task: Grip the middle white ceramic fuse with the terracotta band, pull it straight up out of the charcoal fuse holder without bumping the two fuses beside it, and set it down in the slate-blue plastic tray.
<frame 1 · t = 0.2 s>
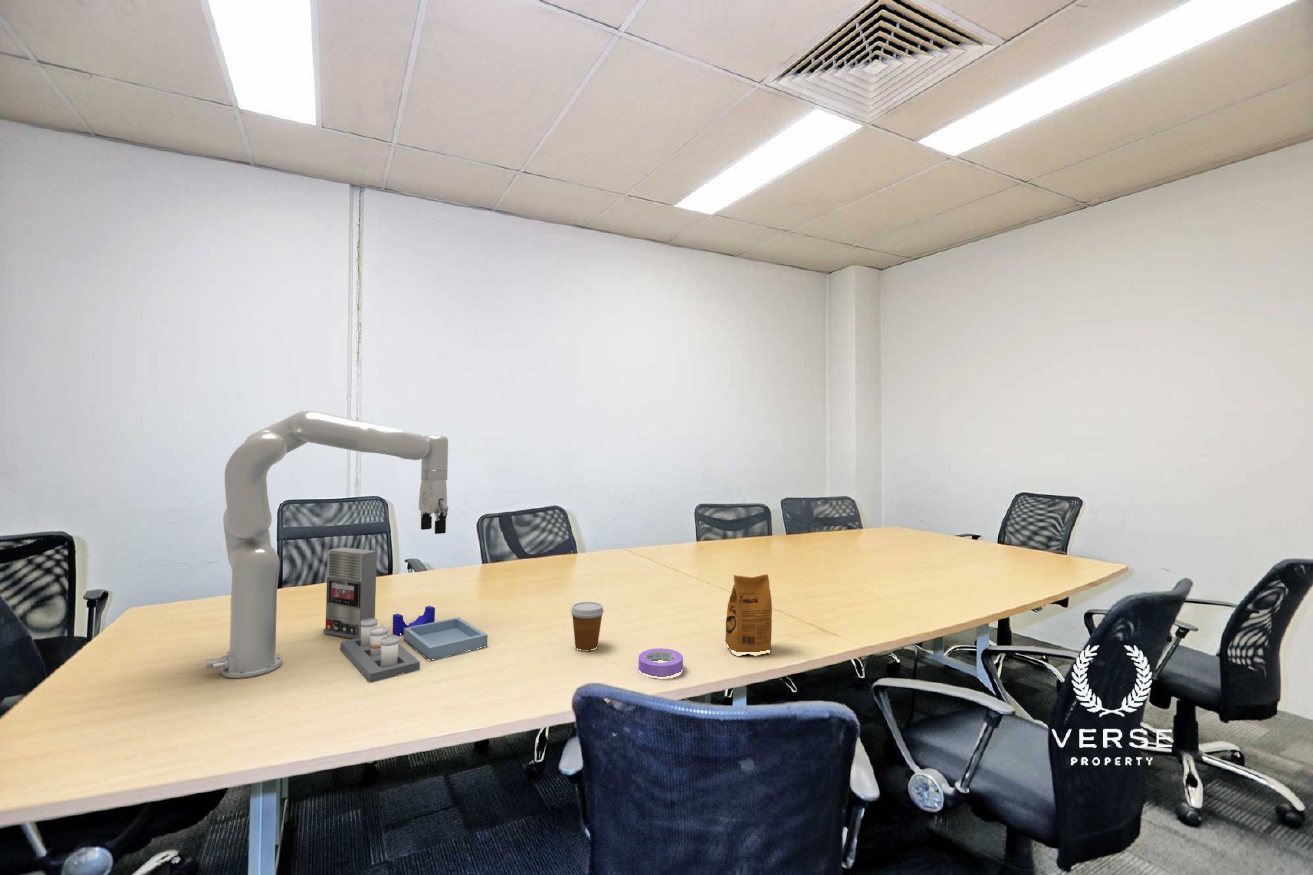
hand: (433, 531, 172), 31 cm above the table, tool pointing down, fingers open, 9 cm apart
fuse 2: (389, 669, 143), resting in fuse holder
cassette tape recorder: (348, 635, 168), on the table
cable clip: (412, 630, 173), on the table
masking tape: (660, 671, 147), on the table
coffee package: (747, 651, 163), on the table
marked fuse: (378, 644, 150), in the fuse holder
fuse 1: (368, 649, 157), resting in fuse holder
tray: (444, 643, 162), on the table
fuse holder: (378, 658, 150), on the table
disposable coffee cup: (586, 648, 162), on the table
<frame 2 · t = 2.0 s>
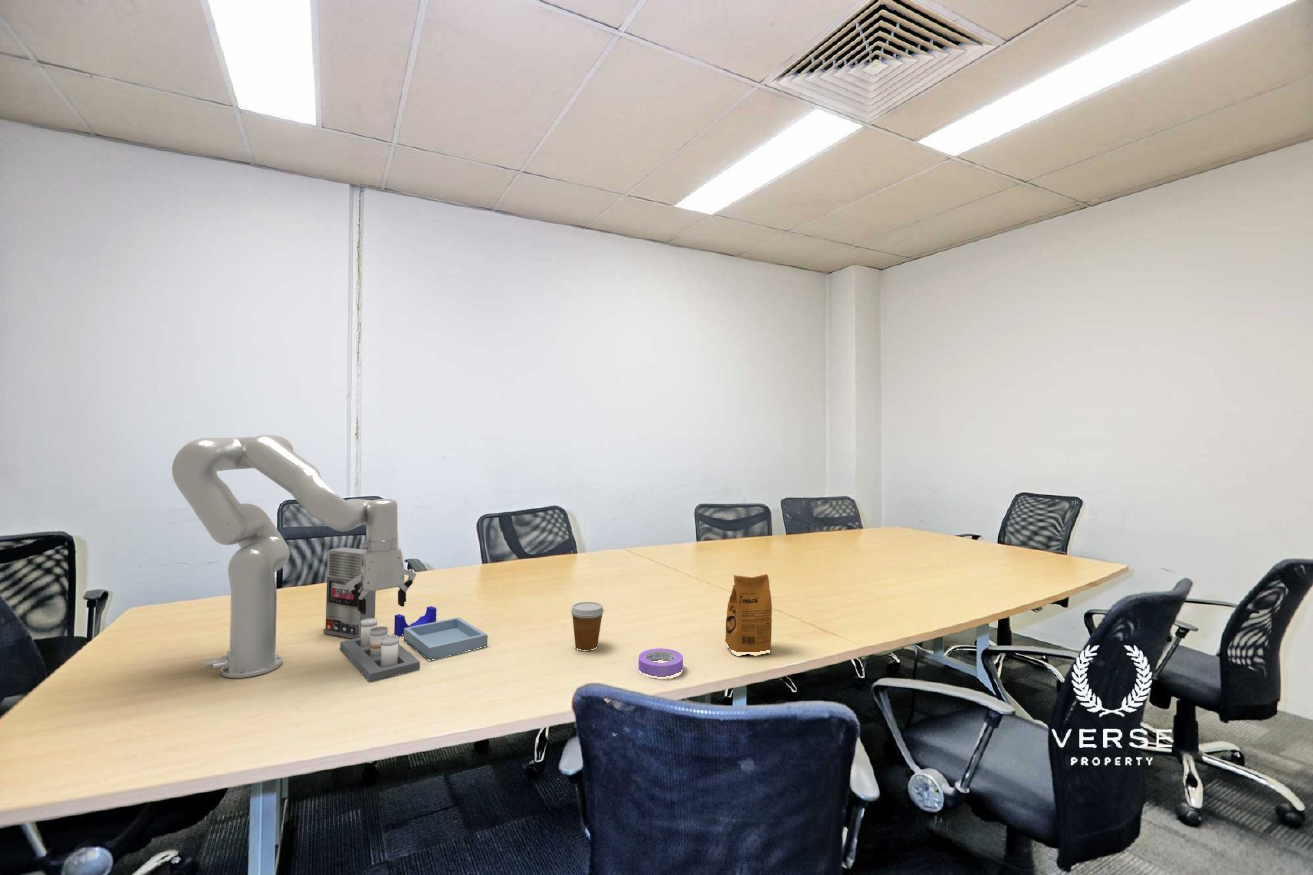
hand: (382, 609, 150), 13 cm above the table, tool pointing down, fingers open, 9 cm apart
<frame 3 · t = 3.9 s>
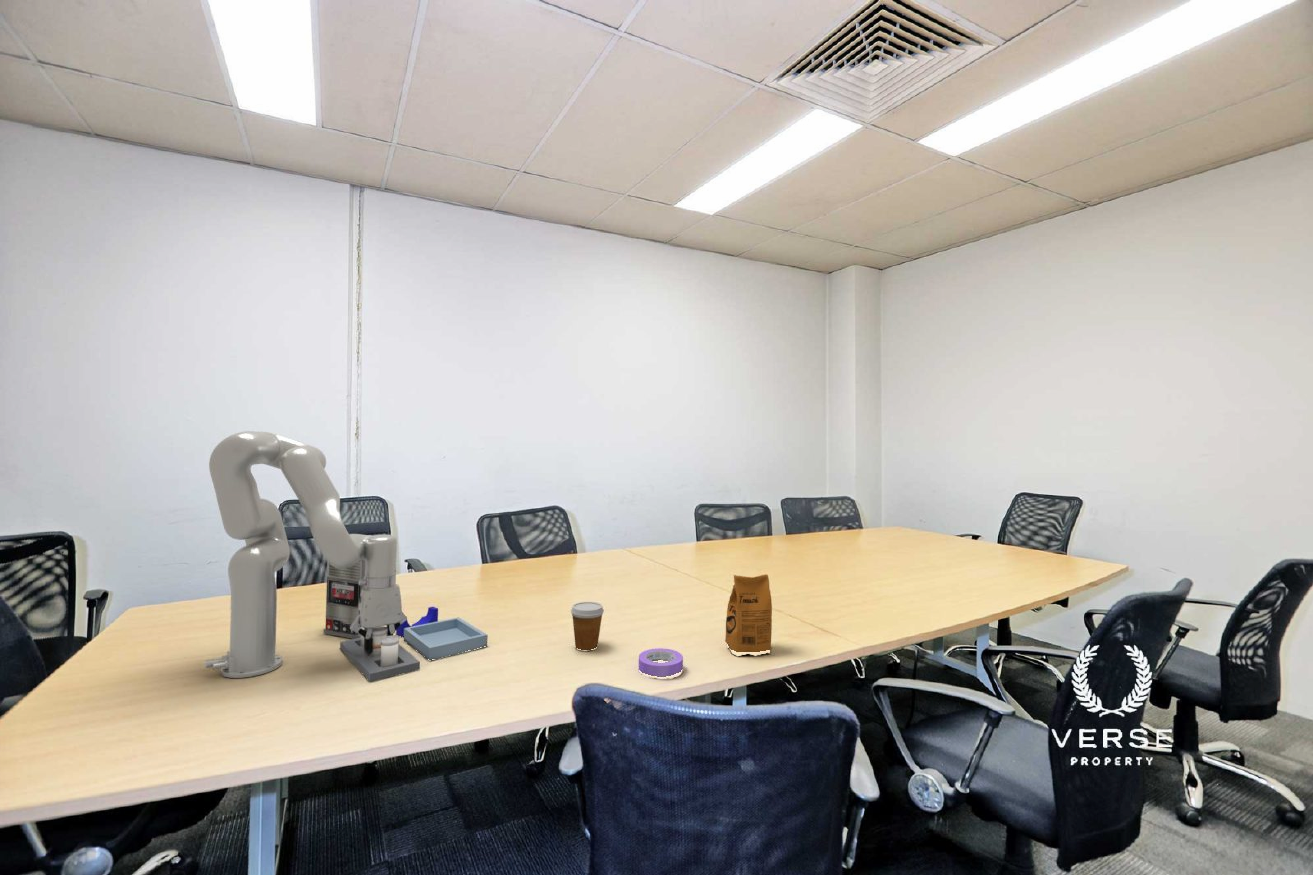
hand: (378, 649, 150), 3 cm above the table, tool pointing down, fingers closed on marked fuse, 4 cm apart
marked fuse: (378, 643, 150), in the fuse holder, touching gripper
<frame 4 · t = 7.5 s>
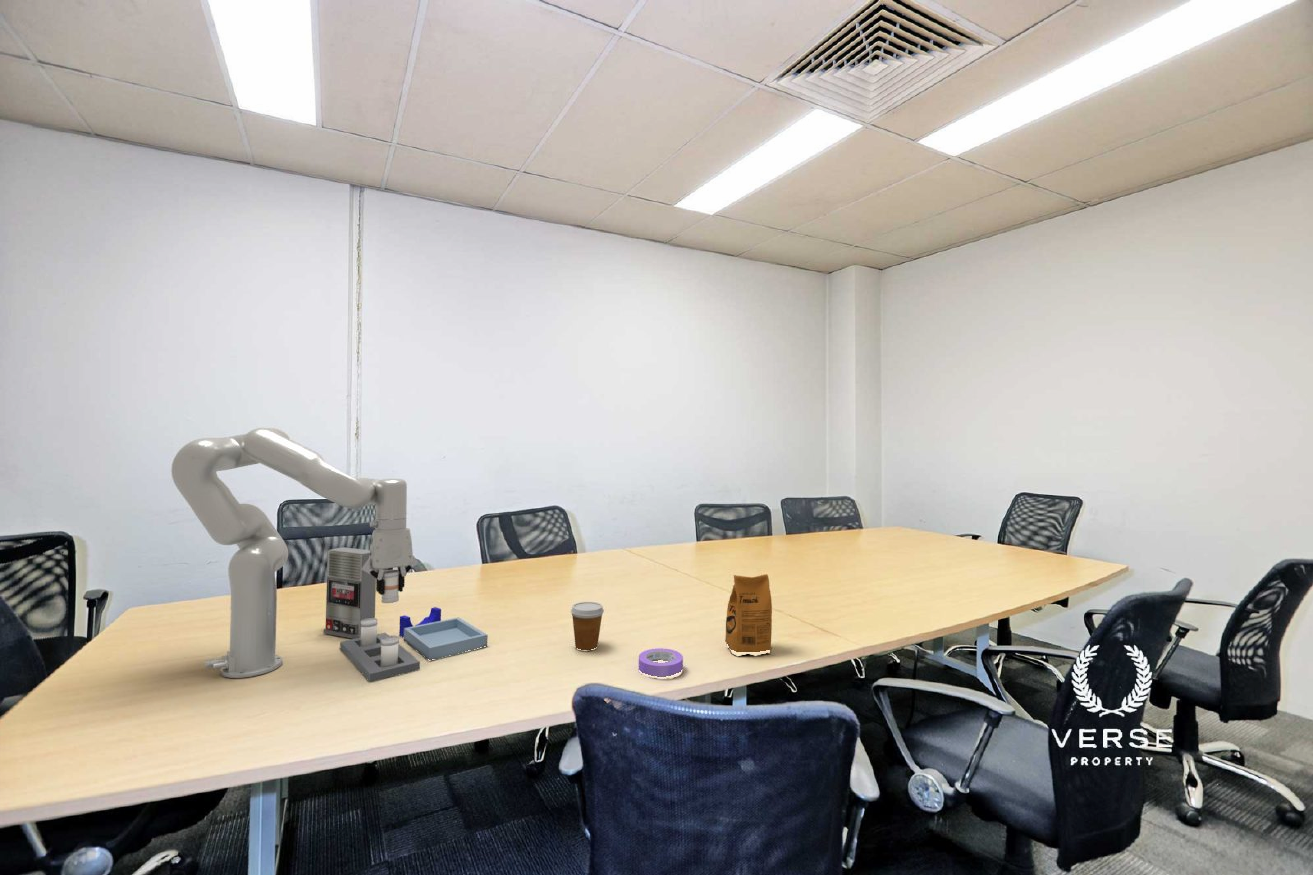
hand: (390, 591, 152), 18 cm above the table, tool pointing down, fingers closed on marked fuse, 4 cm apart
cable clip: (419, 632, 172), on the table
marked fuse: (390, 586, 152), point 19 cm above the table, touching gripper
everything else where it was.
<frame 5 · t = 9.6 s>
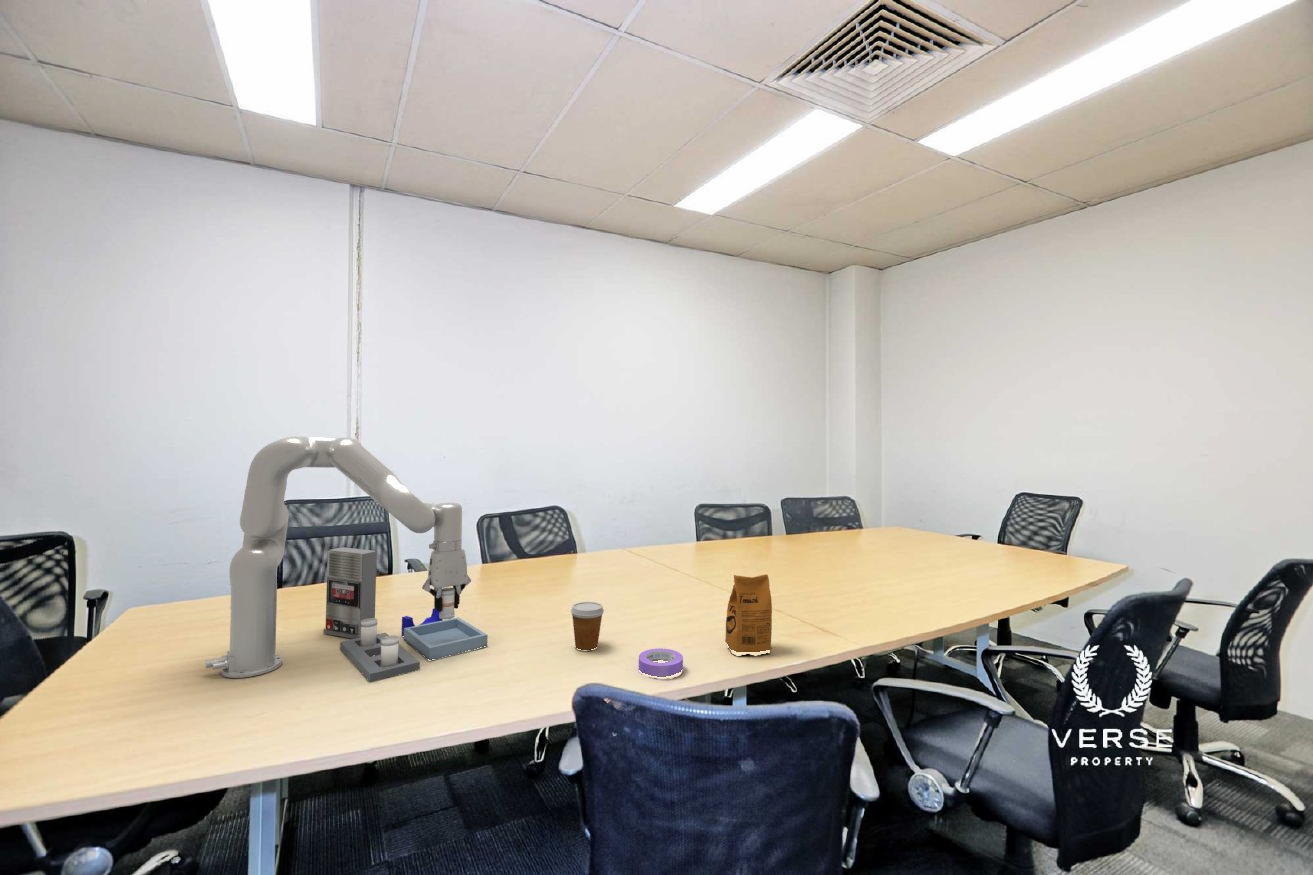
hand: (446, 608, 162), 10 cm above the table, tool pointing down, fingers closed on marked fuse, 4 cm apart
marked fuse: (447, 603, 162), point 12 cm above the table, touching gripper
when the fingers open (5 cm above the table, at t = 11.1 s): marked fuse drops 1 cm, resting on tray.
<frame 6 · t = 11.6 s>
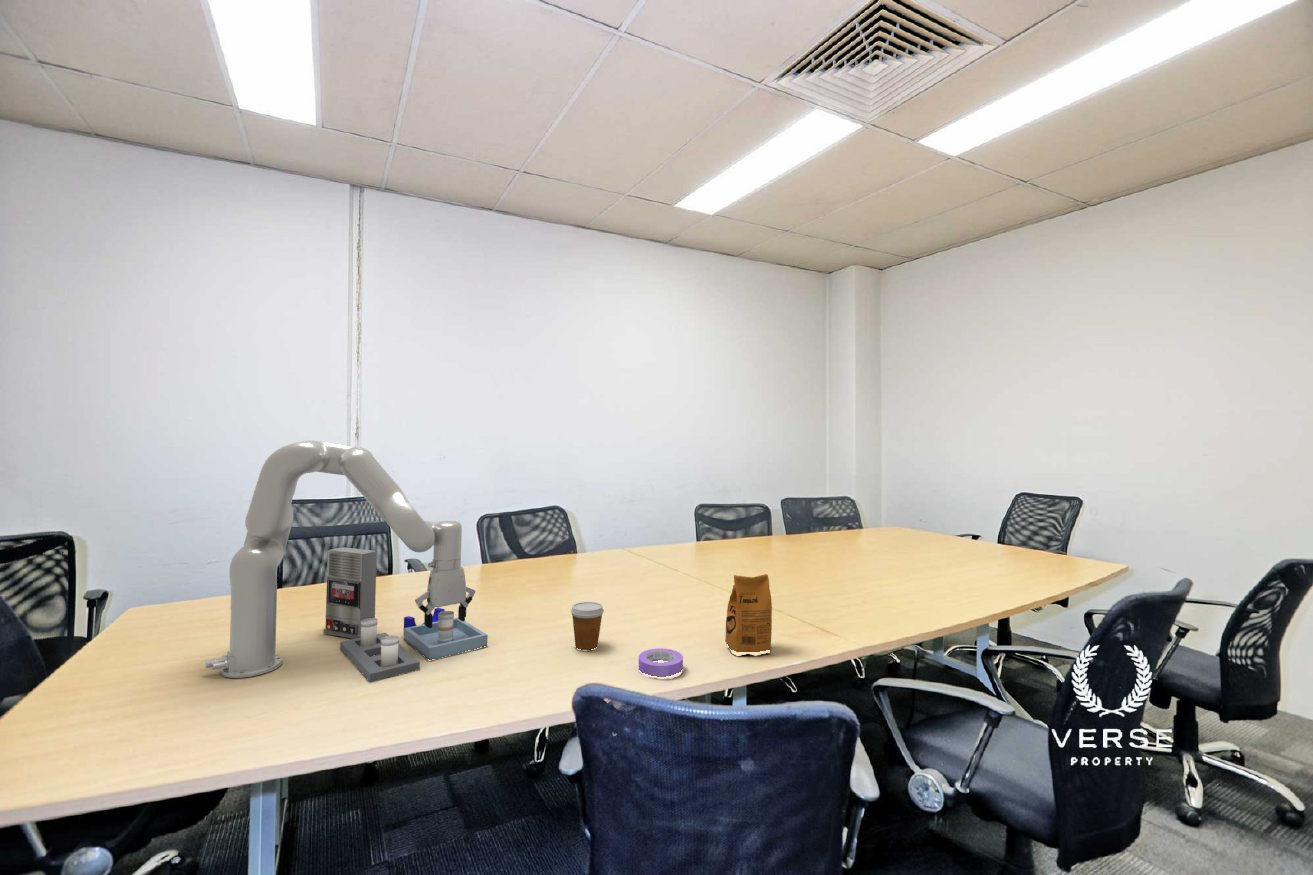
hand: (445, 623, 162), 6 cm above the table, tool pointing down, fingers open, 9 cm apart
marked fuse: (445, 626, 162), in the tray, point 5 cm above the table
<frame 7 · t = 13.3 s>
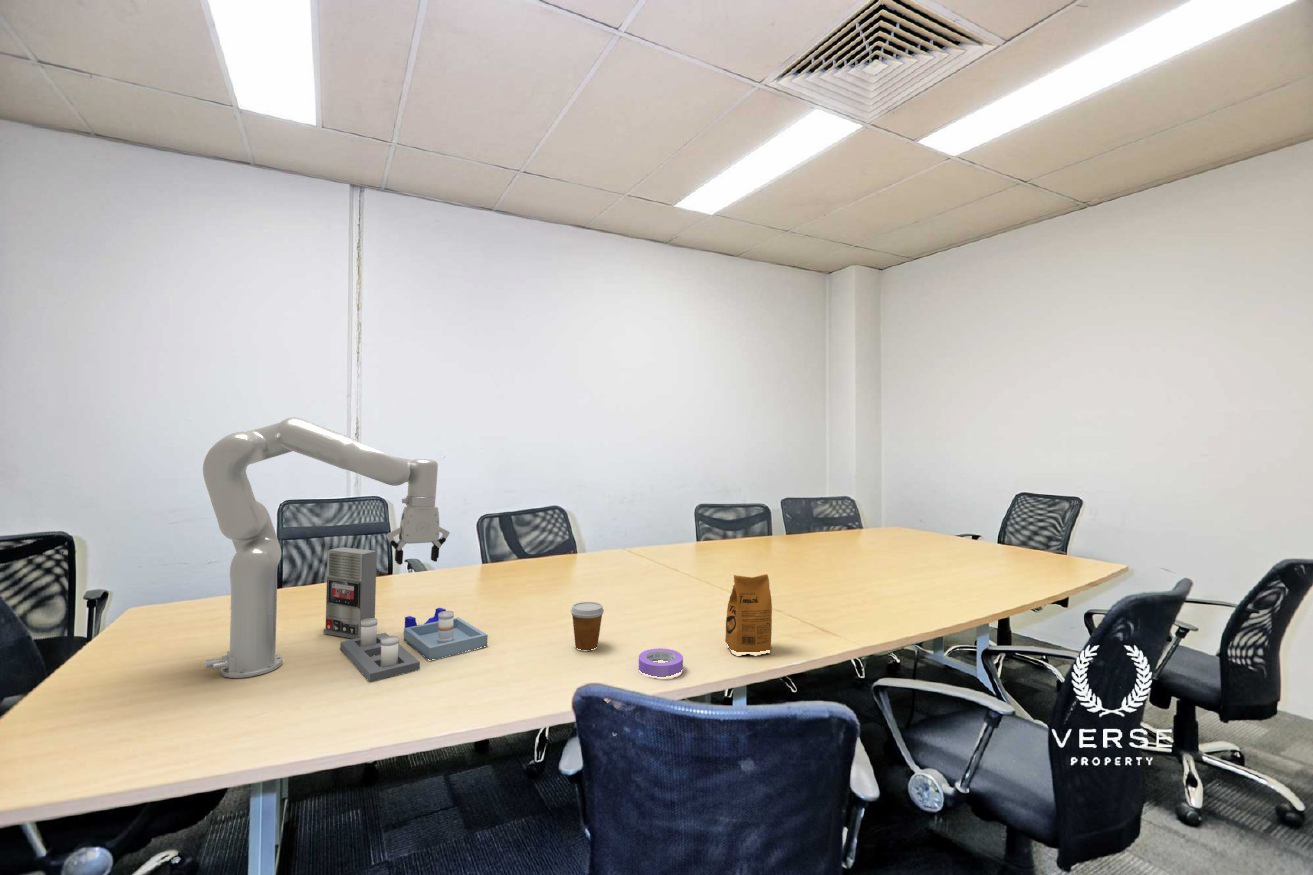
hand: (416, 562, 160), 24 cm above the table, tool pointing down, fingers open, 9 cm apart
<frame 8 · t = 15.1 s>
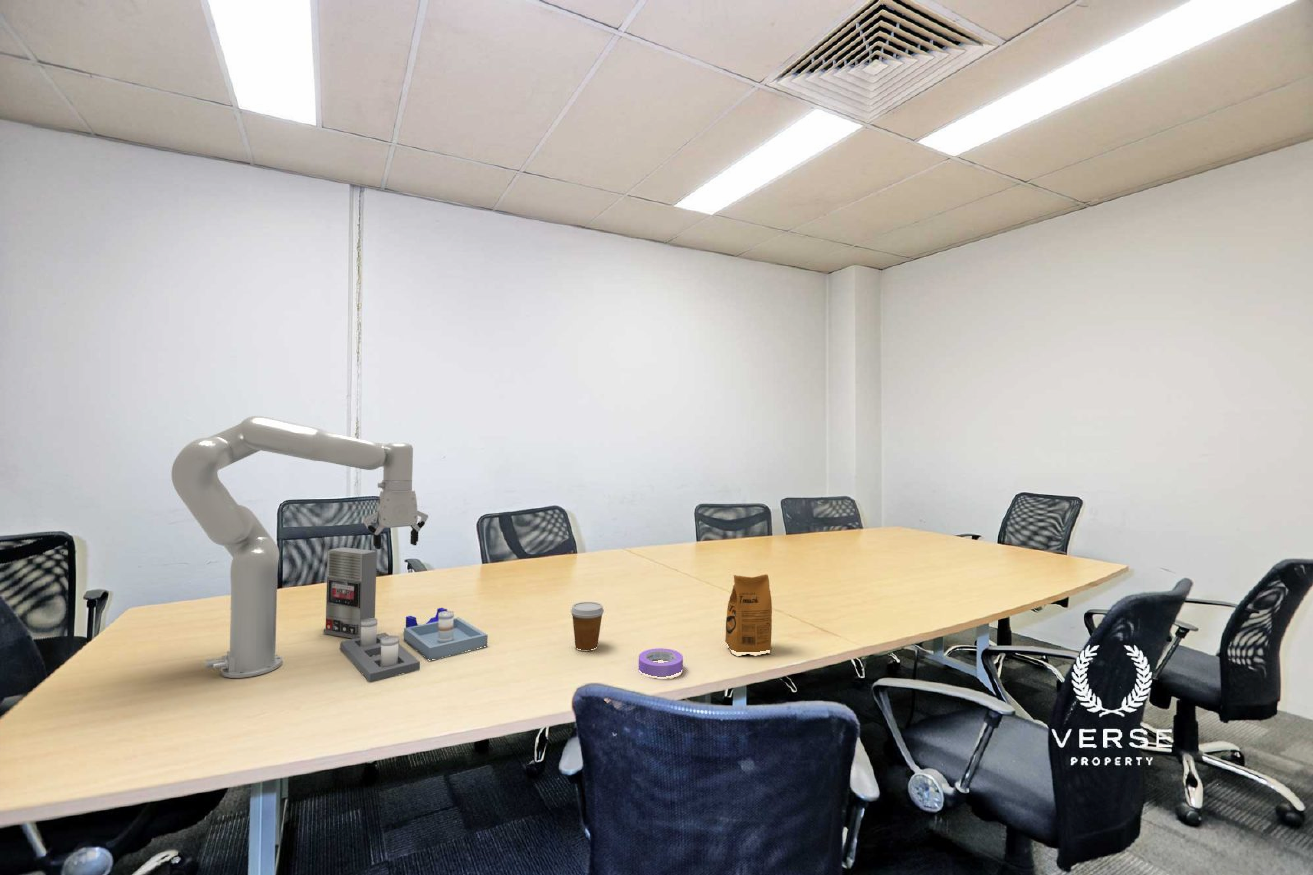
hand: (396, 546, 159), 28 cm above the table, tool pointing down, fingers open, 9 cm apart
at the end: marked fuse inside the target area on the tray (0.1 cm from its centre), point 4.8 cm above the tray's base; fuse 1 moved 0.0 cm from its start; fuse 2 moved 0.0 cm from its start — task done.
